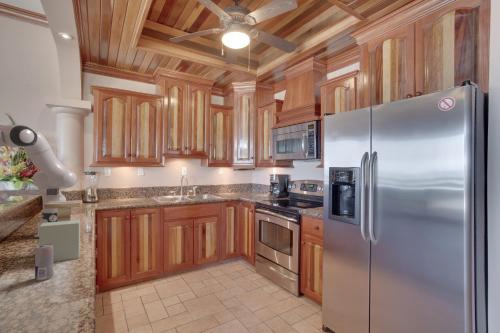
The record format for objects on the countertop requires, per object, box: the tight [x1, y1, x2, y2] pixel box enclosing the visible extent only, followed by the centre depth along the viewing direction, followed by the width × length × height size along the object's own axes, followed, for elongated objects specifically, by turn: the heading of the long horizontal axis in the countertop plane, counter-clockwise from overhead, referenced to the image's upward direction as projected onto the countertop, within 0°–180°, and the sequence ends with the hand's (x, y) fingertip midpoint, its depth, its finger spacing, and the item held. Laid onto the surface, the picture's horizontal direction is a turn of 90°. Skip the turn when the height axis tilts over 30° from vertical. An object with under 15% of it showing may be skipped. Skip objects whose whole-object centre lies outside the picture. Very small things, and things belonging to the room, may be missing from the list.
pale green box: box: [38, 219, 81, 263], centre depth 116 cm, size 8×14×16 cm, turn 120°
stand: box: [44, 199, 83, 252], centre depth 126 cm, size 10×14×24 cm
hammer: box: [0, 188, 59, 197], centre depth 119 cm, size 7×22×3 cm, turn 120°
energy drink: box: [34, 244, 54, 282], centre depth 96 cm, size 5×5×12 cm
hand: (13, 192), depth 116 cm, fingers closed on hammer, 2 cm apart
